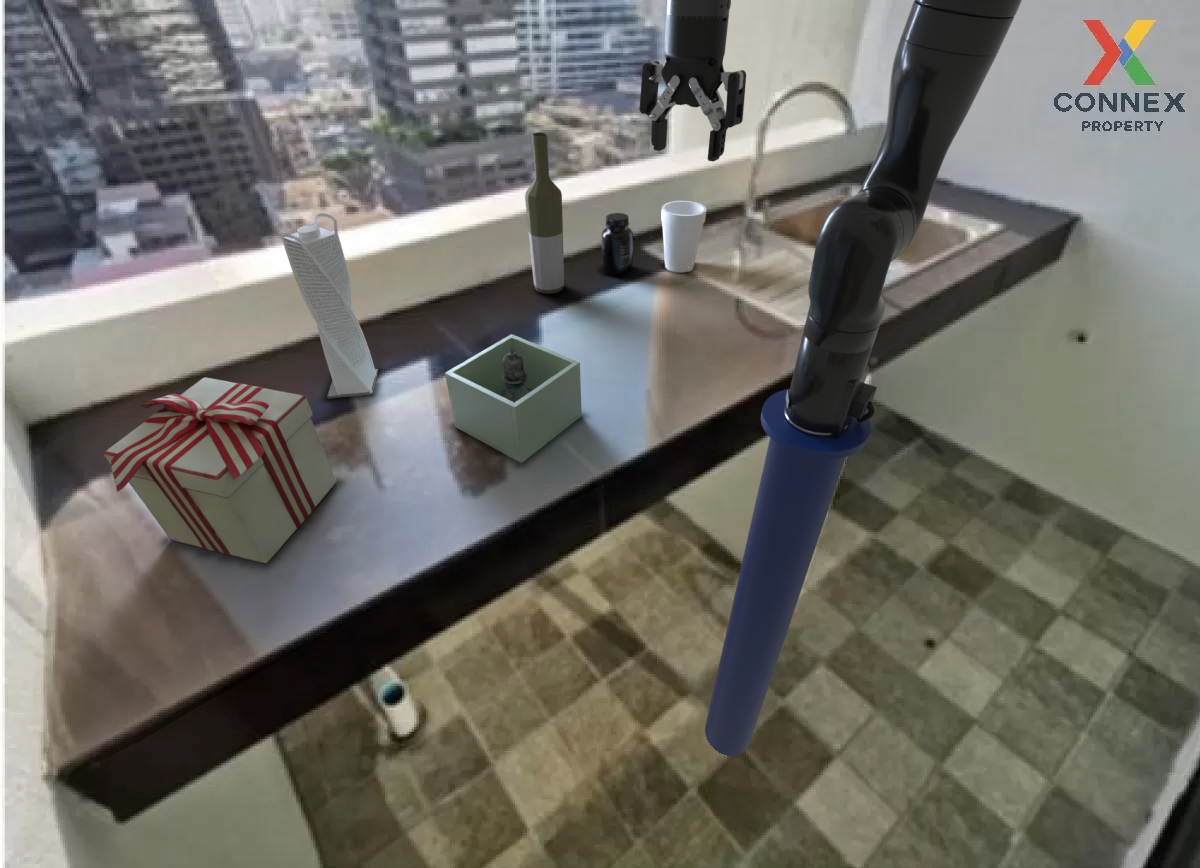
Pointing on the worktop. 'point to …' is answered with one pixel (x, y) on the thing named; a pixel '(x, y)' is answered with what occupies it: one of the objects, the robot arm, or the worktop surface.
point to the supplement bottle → (617, 245)
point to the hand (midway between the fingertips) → (686, 154)
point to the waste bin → (526, 419)
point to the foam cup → (681, 233)
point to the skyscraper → (331, 307)
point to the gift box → (226, 467)
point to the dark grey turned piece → (514, 377)
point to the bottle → (545, 223)
